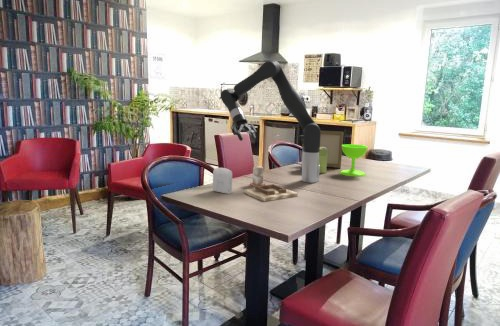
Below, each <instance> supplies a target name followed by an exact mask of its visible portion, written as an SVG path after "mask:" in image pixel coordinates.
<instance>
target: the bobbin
mask: <svg viewBox="0 0 500 326" xmlns="http://www.w3.org/2000/svg"><path fill="white" fill-rule="evenodd" d="M249 185H251V186H252V187H254V188H255V187H257V186H264V185H266V183H264V167H263V166H260V165H259V166H258V165H256V166H253V168H252V182H250V184H249Z"/></svg>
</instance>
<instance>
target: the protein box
mask: <svg viewBox="0 0 500 326" xmlns="http://www.w3.org/2000/svg"><path fill="white" fill-rule="evenodd" d="M301 148H302V150H301V151H302V152H301V162H302V161H303V146H302V147H301ZM327 155H328V149H327V148H325V147H320V149H319V165H320V171H319V174H322V173H323V174H326V173H327V168H328V167H327ZM300 165H301V168H300V169H301V171H302V163H301V164H300Z"/></svg>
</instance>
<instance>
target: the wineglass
mask: <svg viewBox="0 0 500 326" xmlns="http://www.w3.org/2000/svg"><path fill="white" fill-rule="evenodd" d="M368 147H369V146H367V145H362V144H354V143H352V144H350V143H348V144H346V143H345V144H343V145H342V154H344V155H345V156H346V157H347V158H349V159H351V168H350V169H343V170H341V171H340V172H339V174H340V175H343V176H346V177H357V178H358V177H364V176H365V177H366V173H365V172H364V171H361V170H357V169H355V166H356V165H355V164H356V159H359V158H362V157H363V156H365V155H366V153H367V151H368Z"/></svg>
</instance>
